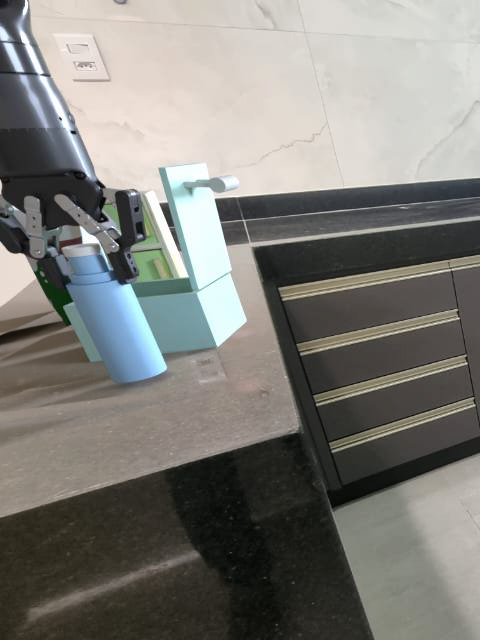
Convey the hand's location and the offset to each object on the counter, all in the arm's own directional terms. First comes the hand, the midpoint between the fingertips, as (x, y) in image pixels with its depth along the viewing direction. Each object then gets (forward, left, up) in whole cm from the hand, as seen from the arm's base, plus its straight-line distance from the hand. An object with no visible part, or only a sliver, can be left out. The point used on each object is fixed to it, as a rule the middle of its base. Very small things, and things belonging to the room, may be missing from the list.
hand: (99, 284), depth 61 cm
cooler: (-3, +16, -13) cm, 21 cm away
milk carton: (-24, +38, -14) cm, 47 cm away
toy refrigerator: (-10, +31, -14) cm, 35 cm away
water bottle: (0, 0, -11) cm, 11 cm away
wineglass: (-20, +29, -14) cm, 38 cm away
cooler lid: (+5, +16, +4) cm, 17 cm away
